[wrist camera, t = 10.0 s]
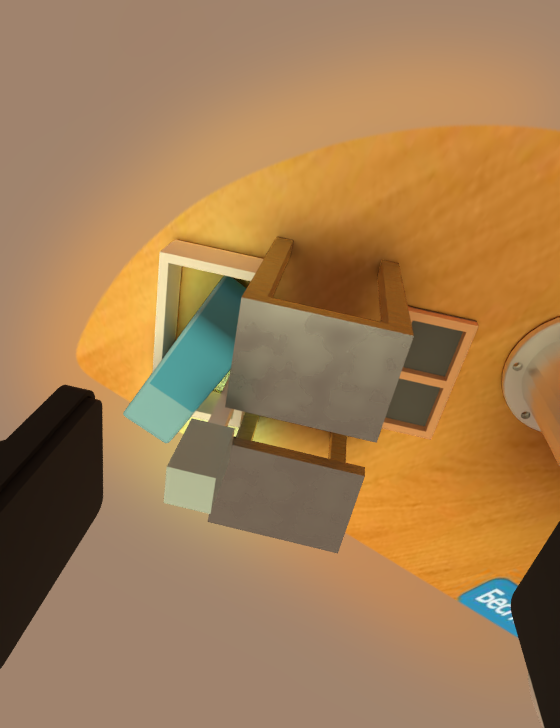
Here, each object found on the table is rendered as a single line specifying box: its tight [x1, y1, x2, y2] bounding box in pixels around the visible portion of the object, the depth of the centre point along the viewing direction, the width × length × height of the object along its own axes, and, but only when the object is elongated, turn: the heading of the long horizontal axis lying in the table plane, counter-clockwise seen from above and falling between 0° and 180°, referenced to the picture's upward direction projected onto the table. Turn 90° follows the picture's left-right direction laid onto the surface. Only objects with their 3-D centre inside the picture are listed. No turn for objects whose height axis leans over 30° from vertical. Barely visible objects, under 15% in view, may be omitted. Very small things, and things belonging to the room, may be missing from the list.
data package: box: [123, 275, 247, 443], centre depth 44 cm, size 12×4×12 cm, turn 143°
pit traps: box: [382, 306, 478, 440], centre depth 48 cm, size 6×13×1 cm, turn 170°
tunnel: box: [208, 237, 414, 553], centre depth 43 cm, size 11×20×15 cm, turn 170°
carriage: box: [153, 239, 264, 514], centre depth 40 cm, size 10×16×22 cm, turn 170°
